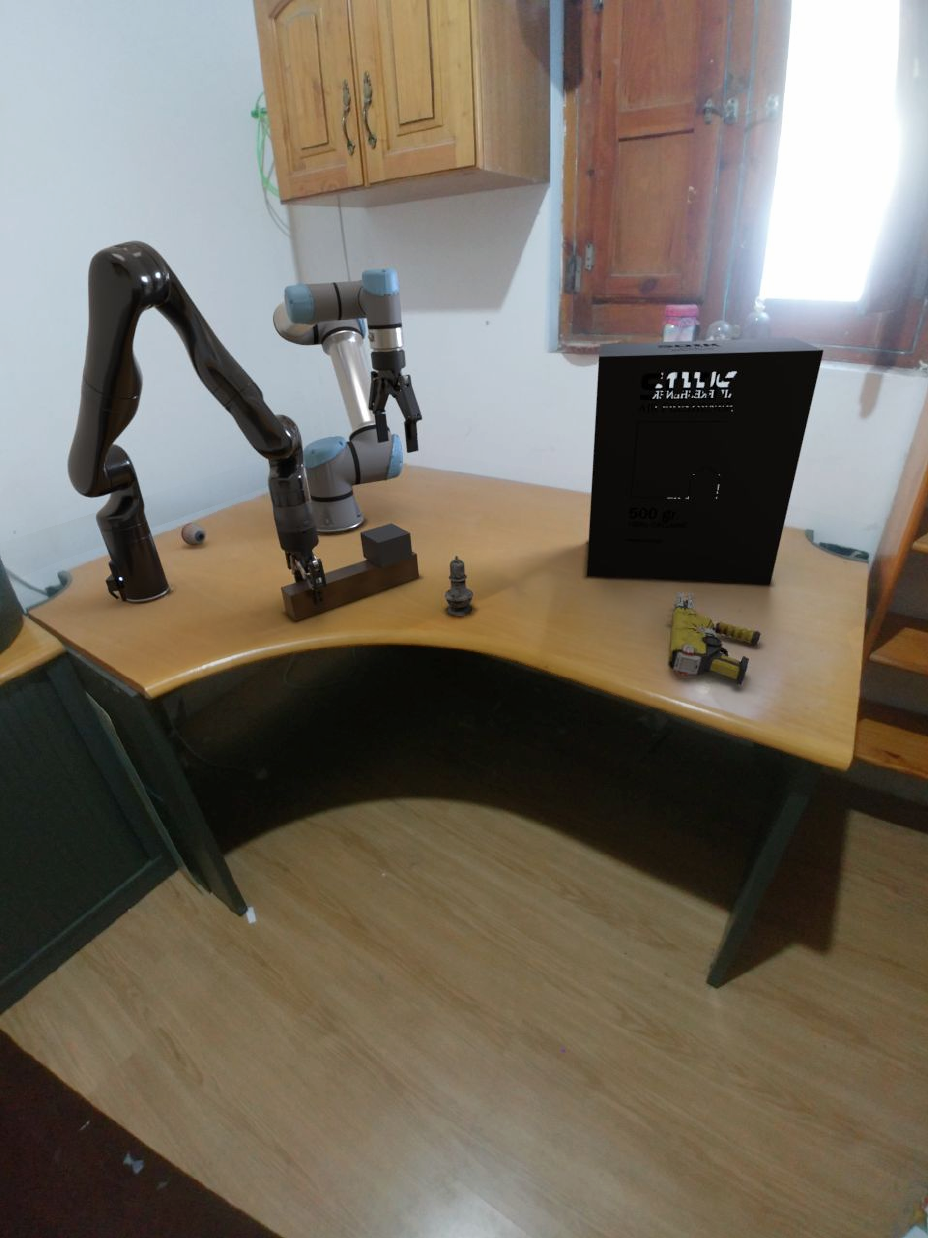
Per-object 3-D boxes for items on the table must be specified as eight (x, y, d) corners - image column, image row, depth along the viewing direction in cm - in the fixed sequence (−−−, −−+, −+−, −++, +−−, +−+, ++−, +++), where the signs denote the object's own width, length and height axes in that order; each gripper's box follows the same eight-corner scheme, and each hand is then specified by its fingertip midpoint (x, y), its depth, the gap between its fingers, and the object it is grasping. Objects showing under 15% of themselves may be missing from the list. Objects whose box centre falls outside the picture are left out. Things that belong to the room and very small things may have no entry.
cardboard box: (751, 546, 143) (793, 337, 120) (770, 584, 126) (823, 350, 103) (589, 540, 150) (600, 343, 128) (586, 576, 133) (598, 356, 111)
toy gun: (759, 604, 113) (676, 588, 117) (772, 670, 93) (671, 649, 97) (752, 625, 115) (671, 610, 119) (763, 695, 95) (665, 673, 99)
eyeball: (194, 551, 158) (188, 529, 155) (180, 546, 161) (173, 525, 158) (213, 542, 162) (208, 521, 159) (199, 539, 165) (192, 518, 162)
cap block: (381, 568, 129) (377, 542, 126) (363, 557, 134) (359, 532, 131) (412, 558, 132) (410, 532, 129) (394, 547, 138) (391, 522, 135)
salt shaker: (471, 617, 120) (468, 562, 114) (442, 615, 121) (438, 561, 115) (476, 603, 125) (474, 550, 119) (449, 601, 126) (445, 549, 120)
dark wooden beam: (295, 621, 123) (289, 595, 120) (286, 612, 126) (280, 587, 123) (419, 577, 138) (416, 553, 135) (407, 570, 141) (405, 547, 138)
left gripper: (264, 519, 120) (281, 591, 128) (291, 538, 110) (308, 615, 118) (299, 509, 124) (313, 580, 132) (329, 528, 114) (342, 603, 122)
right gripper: (346, 348, 140) (359, 440, 150) (402, 355, 122) (412, 459, 133) (374, 344, 144) (385, 435, 154) (432, 350, 126) (440, 452, 136)
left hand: (311, 597), depth 125 cm, fingers open, 8 cm apart
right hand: (397, 446), depth 143 cm, fingers open, 13 cm apart
